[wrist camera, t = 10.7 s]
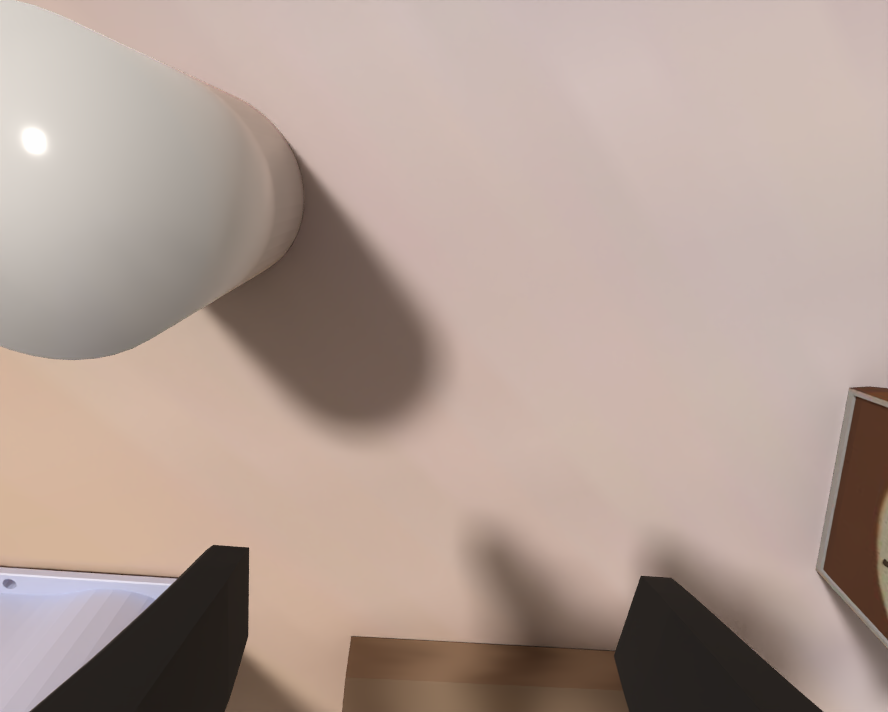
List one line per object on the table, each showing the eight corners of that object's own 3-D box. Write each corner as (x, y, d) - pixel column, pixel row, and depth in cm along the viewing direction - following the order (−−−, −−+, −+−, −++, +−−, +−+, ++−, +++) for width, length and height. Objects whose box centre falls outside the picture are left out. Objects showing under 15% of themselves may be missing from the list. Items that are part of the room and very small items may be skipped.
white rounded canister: (121, 269, 17) (-117, 341, 9) (106, 72, 15) (-209, -38, 7) (300, 291, 17) (212, 375, 10) (308, 104, 15) (206, 31, 8)
